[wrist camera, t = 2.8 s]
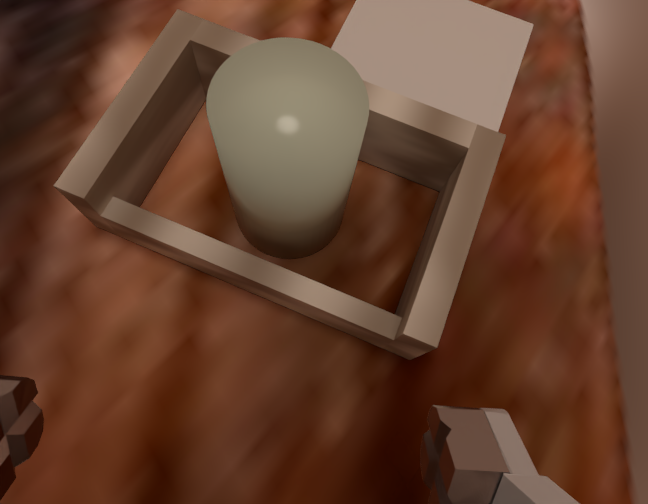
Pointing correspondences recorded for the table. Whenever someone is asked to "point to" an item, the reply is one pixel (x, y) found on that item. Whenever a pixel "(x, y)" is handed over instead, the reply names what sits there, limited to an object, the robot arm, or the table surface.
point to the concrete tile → (438, 53)
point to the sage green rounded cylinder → (288, 141)
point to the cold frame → (253, 272)
